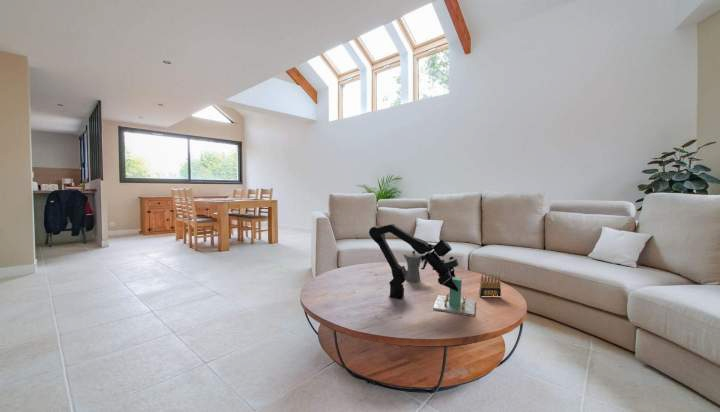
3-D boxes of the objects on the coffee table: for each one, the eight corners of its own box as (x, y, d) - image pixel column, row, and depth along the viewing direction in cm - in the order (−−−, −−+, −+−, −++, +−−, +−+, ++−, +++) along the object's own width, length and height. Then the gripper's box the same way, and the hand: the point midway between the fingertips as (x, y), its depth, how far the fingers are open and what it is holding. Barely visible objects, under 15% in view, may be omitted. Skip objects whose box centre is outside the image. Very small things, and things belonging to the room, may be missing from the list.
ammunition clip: (480, 297, 157) (481, 275, 156) (478, 296, 159) (479, 273, 158) (500, 297, 157) (502, 275, 156) (499, 296, 159) (500, 274, 158)
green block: (449, 304, 144) (450, 279, 143) (450, 301, 148) (451, 276, 147) (460, 306, 142) (461, 280, 141) (460, 302, 146) (461, 277, 146)
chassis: (433, 309, 140) (433, 302, 140) (438, 296, 157) (438, 290, 157) (474, 316, 133) (474, 308, 133) (475, 302, 150) (475, 295, 150)
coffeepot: (400, 280, 183) (400, 251, 182) (405, 276, 191) (405, 248, 190) (424, 284, 176) (426, 254, 175) (429, 280, 184) (430, 251, 183)
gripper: (446, 256, 136) (471, 283, 133) (450, 248, 153) (472, 272, 150) (428, 271, 140) (451, 298, 136) (434, 262, 157) (455, 285, 154)
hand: (458, 287), depth 144 cm, fingers open, 9 cm apart
